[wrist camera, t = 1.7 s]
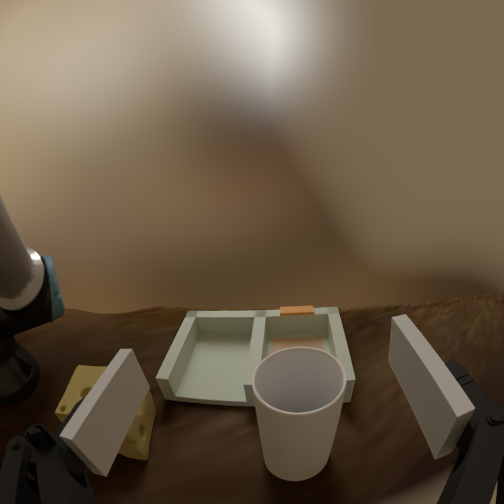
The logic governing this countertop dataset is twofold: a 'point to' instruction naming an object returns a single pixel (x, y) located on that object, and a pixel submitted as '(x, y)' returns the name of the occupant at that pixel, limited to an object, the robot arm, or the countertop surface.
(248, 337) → the tray
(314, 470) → the cup
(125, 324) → the countertop surface
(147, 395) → the cheese
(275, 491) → the countertop surface
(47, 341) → the countertop surface
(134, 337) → the countertop surface
